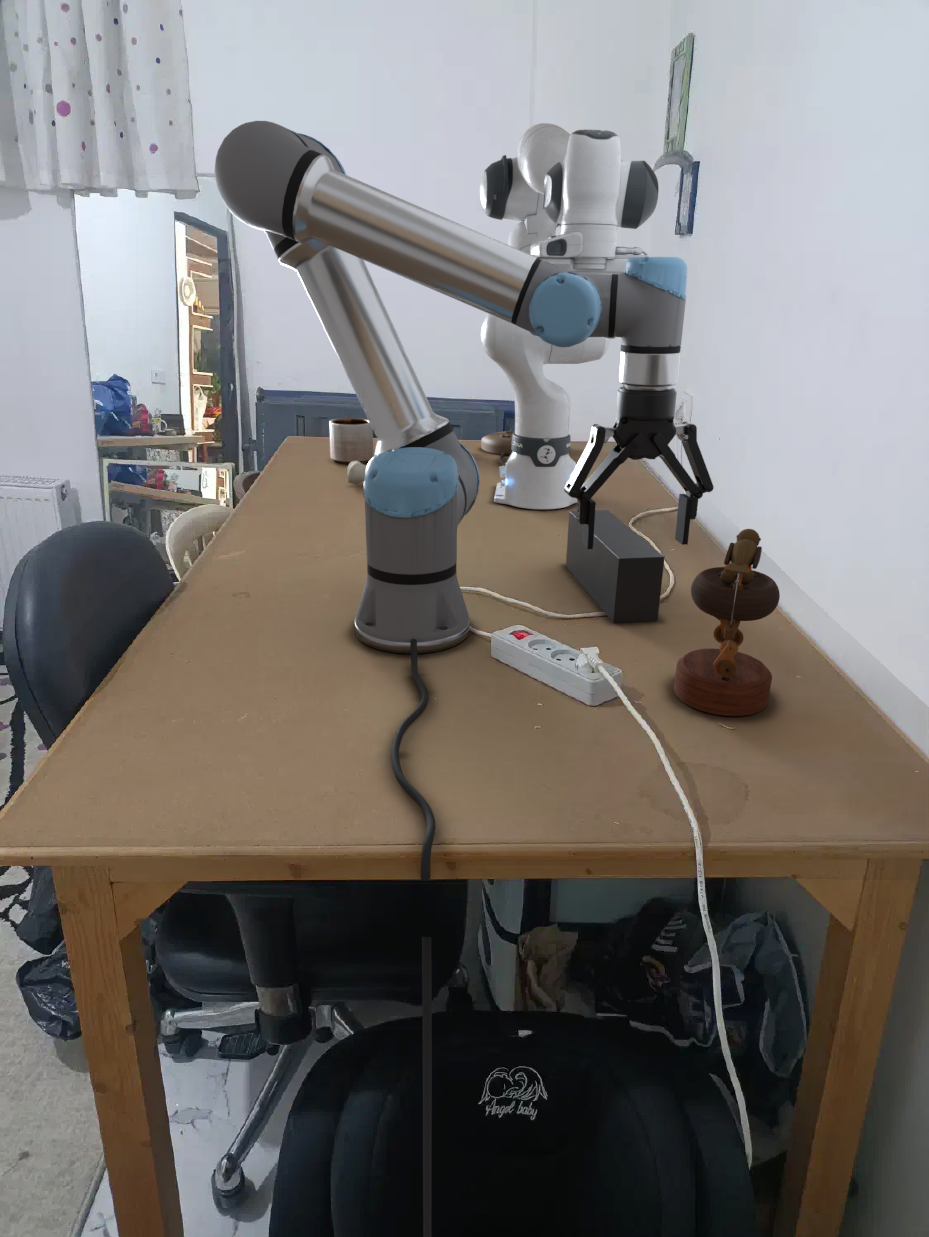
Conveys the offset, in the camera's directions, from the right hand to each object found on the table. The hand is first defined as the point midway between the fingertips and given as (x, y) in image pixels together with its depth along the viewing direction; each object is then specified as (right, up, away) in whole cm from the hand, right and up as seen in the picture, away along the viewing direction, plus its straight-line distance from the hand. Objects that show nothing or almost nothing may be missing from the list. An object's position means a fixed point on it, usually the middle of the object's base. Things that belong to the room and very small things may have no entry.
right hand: (581, 338), depth 138 cm
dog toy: (-36, -15, +53) cm, 66 cm away
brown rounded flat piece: (-4, -2, +86) cm, 86 cm away
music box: (+10, -54, -40) cm, 69 cm away
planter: (-48, -6, +76) cm, 90 cm away
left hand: (+4, -36, -21) cm, 42 cm away
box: (+3, -42, -10) cm, 43 cm away
